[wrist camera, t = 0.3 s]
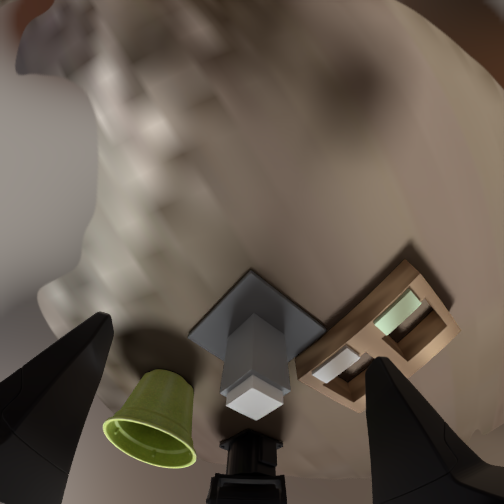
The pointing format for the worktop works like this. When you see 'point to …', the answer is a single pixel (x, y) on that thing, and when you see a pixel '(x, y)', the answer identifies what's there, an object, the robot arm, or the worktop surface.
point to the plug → (255, 369)
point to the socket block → (377, 337)
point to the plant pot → (156, 421)
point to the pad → (266, 307)
